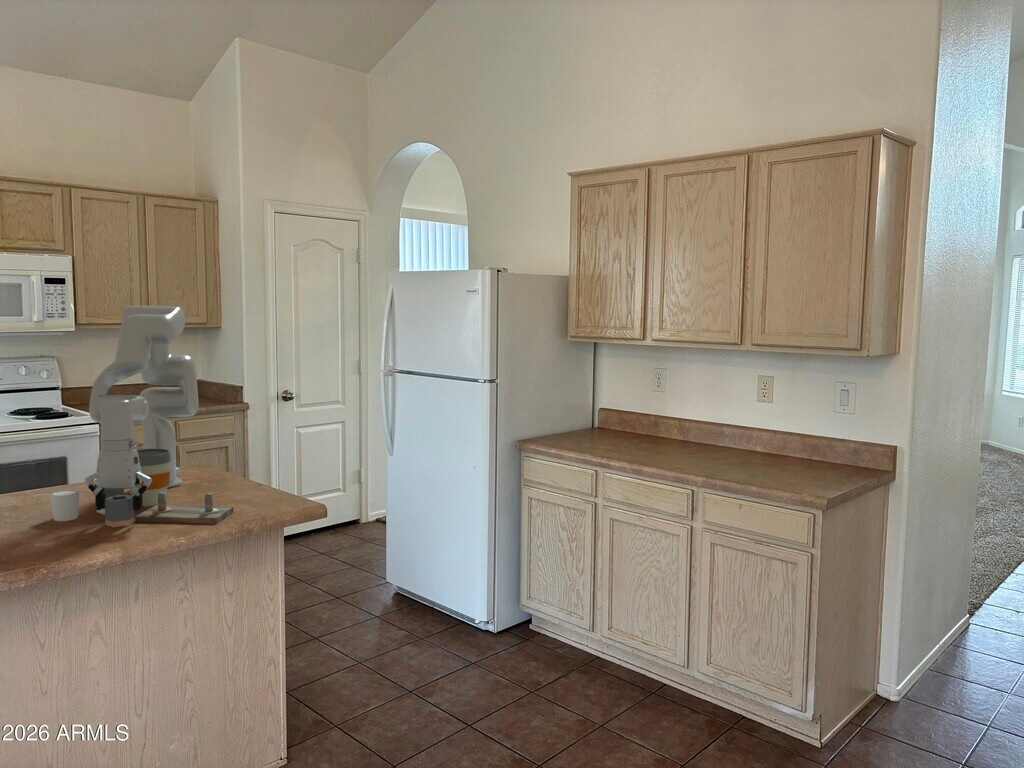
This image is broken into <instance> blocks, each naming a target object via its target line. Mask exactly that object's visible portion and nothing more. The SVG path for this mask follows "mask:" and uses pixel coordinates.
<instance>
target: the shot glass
mask: <svg viewBox="0 0 1024 768" xmlns="http://www.w3.org/2000/svg"><path fill="white" fill-rule="evenodd" d="M49 496H50V503H51V508H52V509H51V510H52V516H53V521H54V522H55V521H56V522H66V521H68V522H69V521H73V520H76V519H78V517H79V503H80V502H79V499H80V491H78V490H61V491H55V492H52V493H50V494H49Z"/></svg>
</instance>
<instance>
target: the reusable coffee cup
mask: <svg viewBox="0 0 1024 768" xmlns="http://www.w3.org/2000/svg"><path fill="white" fill-rule="evenodd" d="M136 450H137V452H138V456H139V460H140V467H141V473H142V474H144V475H146V476H148V477H150V478H152V482H151V484H150V485H149V488H148V489H147V490H146V491H145V492H144V493H143V494H142V499H143V505H142V507H153V506H155V505H158V493H160V492H165V493H166V495H167V493H168V488H167V486H168V485H169V480H170V471H171V470H170V469H169V467H170V461H171V454H170V451H169V450H166V449H143V448H141V449H136ZM143 484H144V481H142V482H141V484H140V486H141V487H142V486H143ZM129 494H130V496H135V494H134V493H133V492H132V491H131V490H130V489H129Z"/></svg>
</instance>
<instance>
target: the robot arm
mask: <svg viewBox="0 0 1024 768" xmlns="http://www.w3.org/2000/svg"><path fill="white" fill-rule="evenodd" d="M185 315H186V314H185V313H184V310H183V309H182V308H180V306H174V305H173V306H169V305H142V304H141V305H139V304H138V305H129V306H126V307H124V308H123V309H122V312H121V319H122V322H121V325H120V330H119V336H118V341H117V348H116V353H115V354H116V355H115V359H114V361H113V362H112V363H111V364H109V365H108V366H107V367H105V368H104V369H103V370H102V371H101V373H100V374H99V375H98V376H97V377H96V378H95V380H94V382H93V384H92V389H91V393H90V398H89V399H90V400H89V404H88V405H89V406H88V407H89V408H88V411H89V412H88V413H89V416H90V419H92V421H94V422H96V423H99V424H100V440H101V441H100V444H101V450H99V452H98V456H97V463H96V472H95V473H92V474H90V475H89V476H87V477H85V478H84V481H85V484H86V485H87V487H88V489H89V490H90V491H91V492H92V494H93V496H94V497H95V499H94V501H95V502H94V503H95V507H96V511H97V510H101V509H103V508H105V493H103V491H104V490H105V489H124V490H129V491H130V490H131V491H132V492H133V493H134V494H135V496H133V510H134V512H137V511H139V510H141V509H142V505H143V499H142V494H143V493H144V492H145V491H146V490H147V489H148V488H149V485H150V484H151V482H152V478H150V477H148V476H146V475H144V474H142V473H141V467H140V460H139V456H138V452H137V450H138V449H134V448H135V447H138V446H139V442H138V441H136V440H135V437H134V423H135V424H136V423H141V426H142V449H166V450H169V451H170V454H171V461H170V467H169V469H170V470H171V471H170V480H169V485H168V486H167V489H168V488H174V487H177V486H180V485H182V483H183V481H182V478H179V477H177V474H178V473H180V471H181V469H180V468H179V467H178V466H177V445H176V444H177V443H176V442H177V441H176V440H177V439H176V428H175V427H174V425H173V424H172V423H171V421H170V420H169V419H168V418H187V417H189V418H190V417H193V416H195V415H196V414H197V412H198V410H199V391H198V390H199V389H198V377H197V367H196V364H195V361H194V359H193V357H191V356H189V355H185V354H171V353H170V350H169V349H170V348H169V344H172V343H174V342H175V341H176V340H177V339H178V338H179V336H180V335H182V333H183V331H184V329H185V325H186V316H185ZM139 374H141V378H142V380H143V382H144V383H145V384H148V385H153V386H154V385H155V386H154V387H148V388H145V389H143V390H142V391H141V392H140V394H139V395H138V394H137V395H135V394H132V395H131V394H129V395H128V394H126V395H125V394H107V393H108V391H109V390H110V389H111V388H112V387H113V386H114V385H115V384H117V383H119V382H121V381H123V380H126V379H128V378H131V377H133V376H135V375H139ZM159 385H160V387H159ZM162 385H163V386H162ZM157 386H158V387H157ZM161 386H162V387H161ZM166 386H167V387H166ZM170 386H175V387H170ZM176 386H177V387H176ZM178 386H179V387H178ZM94 480H96V483H95V481H94ZM142 481H144V484H143V486H142V487H141V486H140V484H141V482H142Z"/></svg>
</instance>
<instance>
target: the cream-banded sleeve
mask: <svg viewBox="0 0 1024 768" xmlns="http://www.w3.org/2000/svg"><path fill="white" fill-rule="evenodd" d="M103 493H105V499H106V498H109V497H111V496H118V495H125V489H105V490H104V491H103ZM96 513H97V514H100V515H101V514H102V515H105V508H103V509H101V510H97V509H96Z"/></svg>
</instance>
